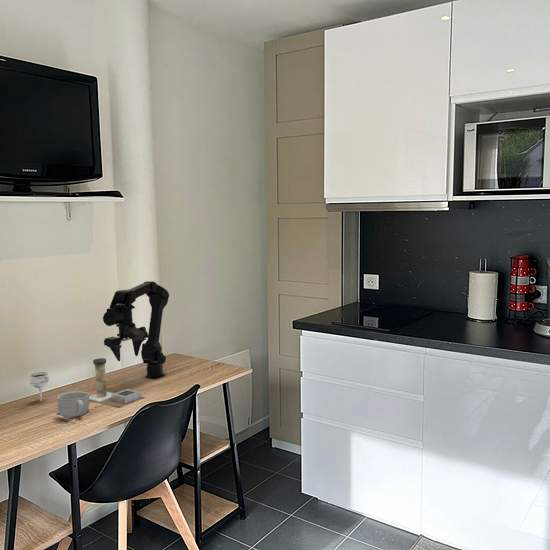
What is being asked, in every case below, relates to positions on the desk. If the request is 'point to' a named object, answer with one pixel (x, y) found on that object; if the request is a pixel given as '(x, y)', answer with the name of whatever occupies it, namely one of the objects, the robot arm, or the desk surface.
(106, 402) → the board
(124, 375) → the desk surface
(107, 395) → the coaster
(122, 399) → the collar
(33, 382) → the wineglass
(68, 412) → the teacup
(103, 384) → the peg
